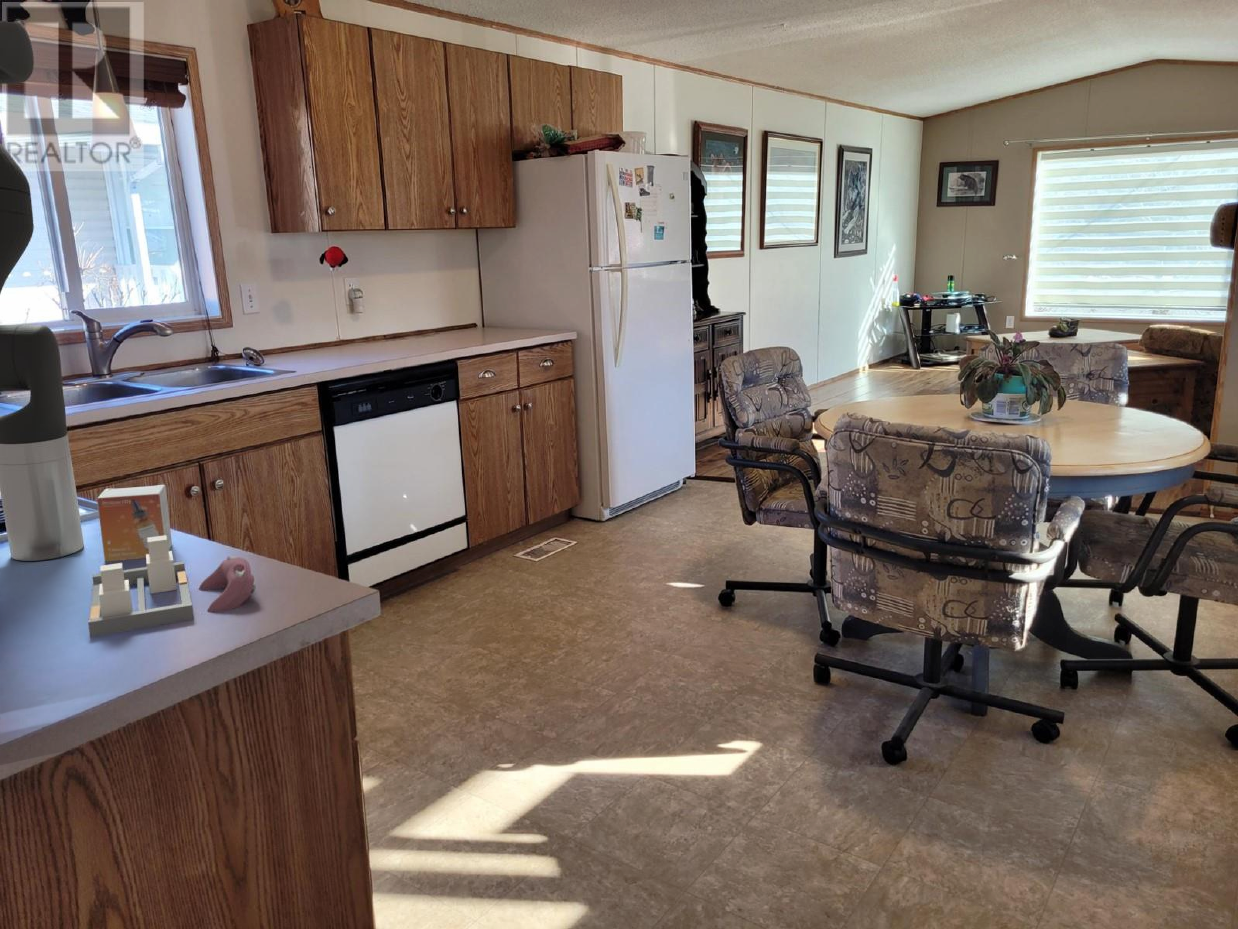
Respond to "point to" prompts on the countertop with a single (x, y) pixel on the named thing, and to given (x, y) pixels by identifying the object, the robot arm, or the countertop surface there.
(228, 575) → the video game controller
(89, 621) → the switch bank
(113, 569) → the tab
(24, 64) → the robot arm
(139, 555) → the small box
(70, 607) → the countertop surface
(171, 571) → the tab
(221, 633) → the countertop surface
